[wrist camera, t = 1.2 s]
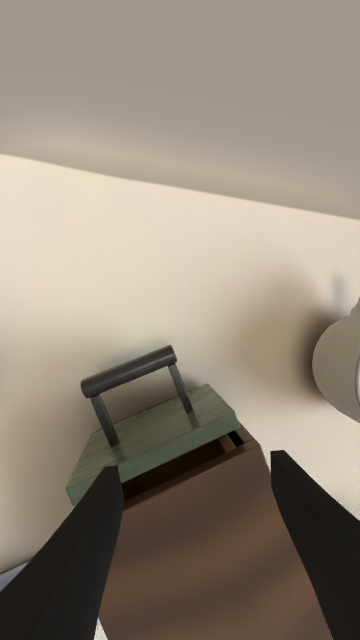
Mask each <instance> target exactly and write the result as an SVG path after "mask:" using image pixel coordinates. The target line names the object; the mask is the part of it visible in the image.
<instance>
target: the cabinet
mask: <svg viewBox="0 0 360 640" xmlns="http://www.w3.org/2000/svg"><path fill="white" fill-rule="evenodd" d="M238 422H239V421H238ZM239 424H240V428H238V429H236V430H233V431H231V432H229V433H227V435H228V436H229V438H230V439H231V440H232V442H233V443H234V445H235V446H236V448H234V449H232V450H230V451H228V452H226V453H224V454H222V455H220V456H218V457H216V458H214V459H212V460H209V461H207V462H205V463H203V464H201V465H199V466H197V467H195V468H193V469H191V470H189V471H187V472H185V473H183V474H181V475H178V476H176V477H174V478H172V479H170V480H168V481H166V482H164V483H162V484H160V485H158V486H156V487H154V488H152V489H150V490H148V491H145V492H143V493H141V494H139V495H137V496H135V497H133V498H131V499H129V500H127V501H125V502H124V506H123V513H122V519H121V525H120V530H119V534H118V538H117V542H116V546H115V550H114V554H113V558H112V561H111V565H110V569H109V573H108V577H107V581H106V585H105V589H104V593H103V597H102V601H101V605H100V610H99V614H98V618H99V620H100V623H101V625H102V627H103V630H104V632H105V634H106V637H107V639H108V640H332V637H331V634H330V632H329V629H328V626H327V624H326V621H325V618H324V615H323V613H322V610H321V607H320V605H319V602H318V599H317V597H316V594H315V591H314V588H313V586H312V584H311V581H310V579H309V577H308V574H307V572H306V570H305V568H304V565H303V563H302V561H301V559H300V557H299V554H298V552H297V550H296V548H295V545H294V543H293V541H292V539H291V537H290V534H289V532H288V530H287V528H286V525H285V523H284V521H283V519H282V516H281V514H280V511H279V508H278V506H277V503H276V500H275V497H274V494H273V491H272V488H271V472H270V470H269V467H268V464H267V462H266V459H265V456H264V454H263V451H262V448H261V445H260V444H259V443H258V442H257V441H256V440H255V439H254V437H253V436H252V435H251V434H250V433H249V432H248V431H247V430H246V429H245V428H244V426H243V425H242V424H241V423H240V422H239Z"/></svg>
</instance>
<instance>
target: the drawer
mask: <svg viewBox="0 0 360 640" xmlns="http://www.w3.org/2000/svg"><path fill="white" fill-rule="evenodd" d="M175 362H177V358H176V355H175V353H174V350H173V348H172V346H171V345H168V346H166V347H163V348H161V349H158V350H156V351H153V352H151V353H148V354H146V355H143V356H141V357H138V358H136V359H133V360H131V361H128V362H126V363H123V364H121V365H118V366H116V367H114V368H111V369H109V370H106V371H104V372H101V373H99V374H96V375H94V376H91V377H89V378H86V379H84V380H82V381H81V389H82V392H83V394H84V396H85V397H86V398H91V401H92V404H93V406H94V409H95V411H96V414H97V416H98V418H99V421H100V423H101V426H102V428H103V429H102V430H100V431H98V432H95V433H93V434H91V436H90V438H89V440H88V443H87V445H86V447H85V449H84V451H83V453H82V455H81V458H80V460H79V462H78V464H77V466H76V468H75V470H74V473H73V475H72V477H71V479H70V481H69V483H68V485H67V487H66V491H67V494H68V496H69V498H70V501H71V503H72V505H73V506H75V505H77V504H78V502H79V501H80V500H81V498H82V497H83V496H84V494H85V493H86V492H87V490H88V489H89V487H90V486H91V485H92V483H93V482H94V480H95V479H96V478H97V476H98V475H99V473H100V472H101V471H102V469H103V468H104V467H105V466H114V465H118V470H119V475H120V480H121V485H122V490H123V495H124V502H125V501H127V500H129V499H131V498H133V497H135V496H137V495H139V494H141V493H143V492H145V491H148V490H150V489H152V488H154V487H156V486H158V485H160V484H162V483H164V482H166V481H168V480H170V479H172V478H174V477H176V476H178V475H181V474H183V473H185V472H187V471H189V470H191V469H193V468H195V467H197V466H199V465H201V464H203V463H205V462H207V461H209V460H212V459H214V458H216V457H218V456H220V455H222V454H224V453H226V452H228V451H230V450H232V449H234V448H236V446H235V445H234V443H233V442H232V440H231V439H230V438H229V436H228V435H227V433H229V432H231V431H233V430H236V429H238V428H240V424H239V422H238V419H237V416H236V414H235V411H234V410H233V409H232V408H231V407H230V406H229V405H228V404H227V403H226V402H225V401H224V400H223V399H222V398H221V397H220V396H219V395H218V394H217V393H216V392H215V391H214V390H213V388H212V387H211V386H210V385H209V384H206V385H203V386H201V387H199V388H197V389H194V390H192V391H190V392H186V389H185V387H184V384H183V382H182V379H181V377H180V374H179V371H178V369H177V366H176V364H175ZM166 366H168V368H169V370H170V373H171V376H172V378H173V381H174V383H175V386H176V388H177V391H178V394H179V396H178V397H176V398H174V399H171V400H169V401H167V402H164V403H162V404H160V405H157V406H155V407H153V408H151V409H148V410H146V411H144V412H141V413H139V414H137V415H134V416H132V417H130V418H128V419H125V420H123V421H121V422H118V423H116V424H114V425H113V424H112V422H111V419H110V417H109V415H108V412H107V410H106V407H105V405H104V402H103V400H102V397H101V395H100V394H101V393H103V392H105V391H108V390H110V389H113V388H115V387H117V386H120V385H122V384H125V383H127V382H130V381H132V380H134V379H137V378H139V377H142V376H144V375H146V374H149V373H151V372H154V371H156V370H159V369H161V368H163V367H166Z"/></svg>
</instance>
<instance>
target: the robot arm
mask: <svg viewBox="0 0 360 640" xmlns="http://www.w3.org/2000/svg"><path fill="white" fill-rule="evenodd" d="M270 452H271V488H272V491H273V494H274V497H275V500H276V503H277V506H278V508H279V511H280V514H281V516H282V519H283V521H284V523H285V525H286V528H287V530H288V532H289V534H290V537H291V539H292V541H293V543H294V545H295V548H296V550H297V552H298V554H299V557H300V559H301V561H302V563H303V565H304V568H305V570H306V572H307V574H308V577H309V579H310V581H311V584H312V586H313V588H314V591H315V593H316V596H317V598H318V601H319V604H320V606H321V609H322V612H323V614H324V617H325V620H326V622H327V625H328V628H329V630H330V633H331V636H332V639H333V640H360V521H359V520H358V519H357V518H355V517H354V516H353V515H352V514H351V513H349V512H348V511H347V510H346V509H345V508H344V507H343V506H341V505H340V504H339V503H338V502H337V501H336V500H335V499H334V498H332V497H331V496H330V495H329V494H328V493H327V492H326V491H325V490H324V489H323V488H322V487H321V486H320V485H318V484H317V483H316V482H315V481H314V480H313V479H312V478H311V477H310V476H309V475H308V474H307V473H306V472H305V471H304V470H303V469H302V468H301V467H300V466H299V465H298V464H297V463H296V462H295V461H294V460H293V459H292V458H291V457H290V456H289V455H288V454H287V453H286V452H285V451H284V450H279V451H270ZM123 506H124V495H123V490H122V485H121V480H120V475H119V470H118V465H114V466H105V467H104V468H103V469H102V471H101V472H100V473H99V475H98V476H97V478H96V479H95V480H94V482H93V483H92V485H91V486H90V487H89V489H88V490H87V492H86V493H85V494H84V496H83V497H82V498H81V500H80V501H79V502H78V504H77V505H76V506H75V508H74V509H73V510H72V512H71V513H70V514H69V516H68V517H67V518H66V519H65V521H64V522H63V523H62V524H61V526H60V527H59V528H58V529H57V530H56V532H55V533H54V534H53V535H52V537H51V538H50V539H49V540H48V541H47V542H46V544H45V545H44V546H43V547H42V548H41V549H40V551H39V552H38V553H37V554H36V555H35V556H34V557H33V558H32V559H31V560H30V561H28V562H26V563H24V564H22V565H20V566H18V567H16V568H14V569H12V570H10V571H8V572H6V573H4V574H2V575H0V640H94V636H95V631H96V625H97V624H98V623H100V620H99V618H98V614H99V610H100V605H101V601H102V597H103V593H104V589H105V585H106V581H107V577H108V573H109V569H110V565H111V561H112V558H113V554H114V550H115V546H116V542H117V538H118V534H119V530H120V525H121V519H122V513H123Z"/></svg>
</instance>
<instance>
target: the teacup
mask: <svg viewBox="0 0 360 640" xmlns="http://www.w3.org/2000/svg"><path fill="white" fill-rule="evenodd" d="M312 369H313V375H314V379H315V382H316V384H317V387H318V388H319V390H320V392H321V393H322V395H323V396H324V397H325V399H326V400H327V401H328V402H329V403H330V404H331V405H332V406H334V407H335V408H336V409H337V410H339V411H340V412H342V413H343V414H345V415H347V416H348V417H350V418H352V419H353V420H355V421H357V422H358V423H360V298H359V300H358V303H357V305H356V306H355V307H354V308H353V309H352V310H351V313H350V316H347V317H344V318H342V319H340V320H338V321H336V322H335V323H333V324H332V325H331V326H330V327H329V328H327V329H326V331H325V332H324V333H323V334H322V335H321V337H320V339H319V340H318V342H317V344H316V347H315V350H314V353H313V360H312Z"/></svg>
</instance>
